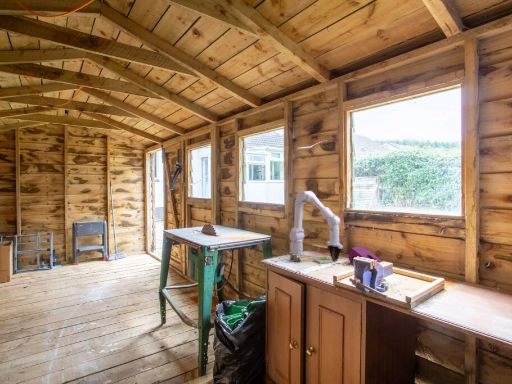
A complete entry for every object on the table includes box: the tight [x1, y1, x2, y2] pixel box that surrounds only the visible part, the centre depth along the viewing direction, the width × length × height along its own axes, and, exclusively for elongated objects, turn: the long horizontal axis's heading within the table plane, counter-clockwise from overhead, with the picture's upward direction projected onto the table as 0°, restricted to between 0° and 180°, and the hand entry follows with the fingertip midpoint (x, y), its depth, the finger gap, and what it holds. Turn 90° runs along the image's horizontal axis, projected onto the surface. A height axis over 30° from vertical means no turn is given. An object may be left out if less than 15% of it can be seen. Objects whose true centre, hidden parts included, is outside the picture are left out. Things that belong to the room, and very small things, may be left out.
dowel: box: [331, 250, 339, 262], centre depth 180 cm, size 3×3×6 cm
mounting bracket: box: [348, 245, 383, 265], centre depth 168 cm, size 9×8×18 cm
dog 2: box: [293, 255, 300, 263], centre depth 179 cm, size 3×3×4 cm
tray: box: [313, 256, 334, 265], centre depth 178 cm, size 8×8×2 cm
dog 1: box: [289, 253, 295, 262], centre depth 184 cm, size 3×3×4 cm
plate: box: [298, 254, 313, 263], centre depth 183 cm, size 8×8×2 cm
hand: (334, 258), depth 180 cm, fingers closed on dowel, 3 cm apart
